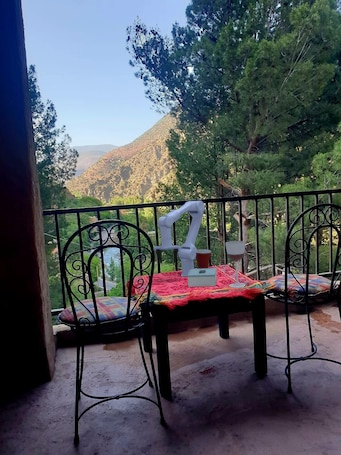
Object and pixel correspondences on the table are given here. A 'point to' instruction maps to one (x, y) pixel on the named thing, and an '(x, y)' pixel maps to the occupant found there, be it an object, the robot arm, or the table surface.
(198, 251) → the plastic cup
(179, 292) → the table surface
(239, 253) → the wineglass
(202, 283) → the coin box
